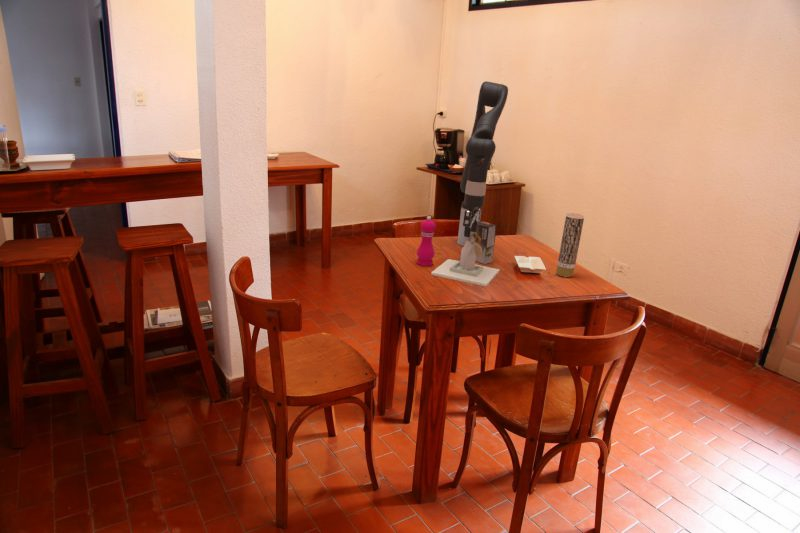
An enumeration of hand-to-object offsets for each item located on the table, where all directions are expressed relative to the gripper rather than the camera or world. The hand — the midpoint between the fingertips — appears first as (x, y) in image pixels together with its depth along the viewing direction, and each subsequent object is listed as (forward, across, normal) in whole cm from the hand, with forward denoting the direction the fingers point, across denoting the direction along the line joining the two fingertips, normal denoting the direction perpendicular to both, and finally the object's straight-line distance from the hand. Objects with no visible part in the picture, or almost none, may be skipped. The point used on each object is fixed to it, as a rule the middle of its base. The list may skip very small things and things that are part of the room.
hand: (470, 234), depth 207 cm
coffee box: (+16, +20, 0) cm, 26 cm away
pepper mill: (+16, +1, +18) cm, 24 cm away
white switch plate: (+16, 0, 0) cm, 16 cm away
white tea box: (+14, 0, 0) cm, 14 cm away
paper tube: (+16, +22, -35) cm, 45 cm away
